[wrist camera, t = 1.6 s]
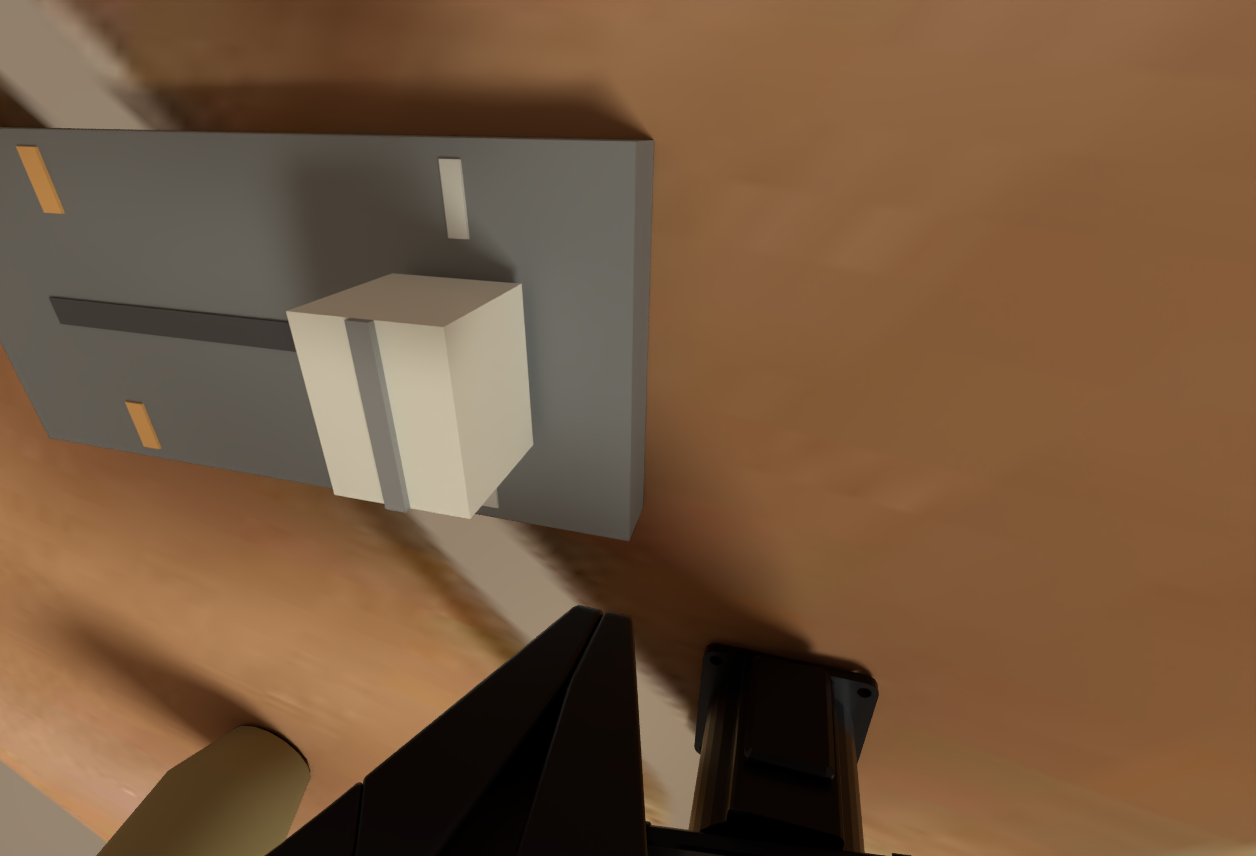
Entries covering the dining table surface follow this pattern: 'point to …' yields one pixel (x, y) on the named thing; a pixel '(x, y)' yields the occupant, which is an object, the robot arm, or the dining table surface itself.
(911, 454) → the dining table surface
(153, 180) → the plate
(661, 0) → the dining table surface
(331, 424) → the cap
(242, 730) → the squeeze bottle
